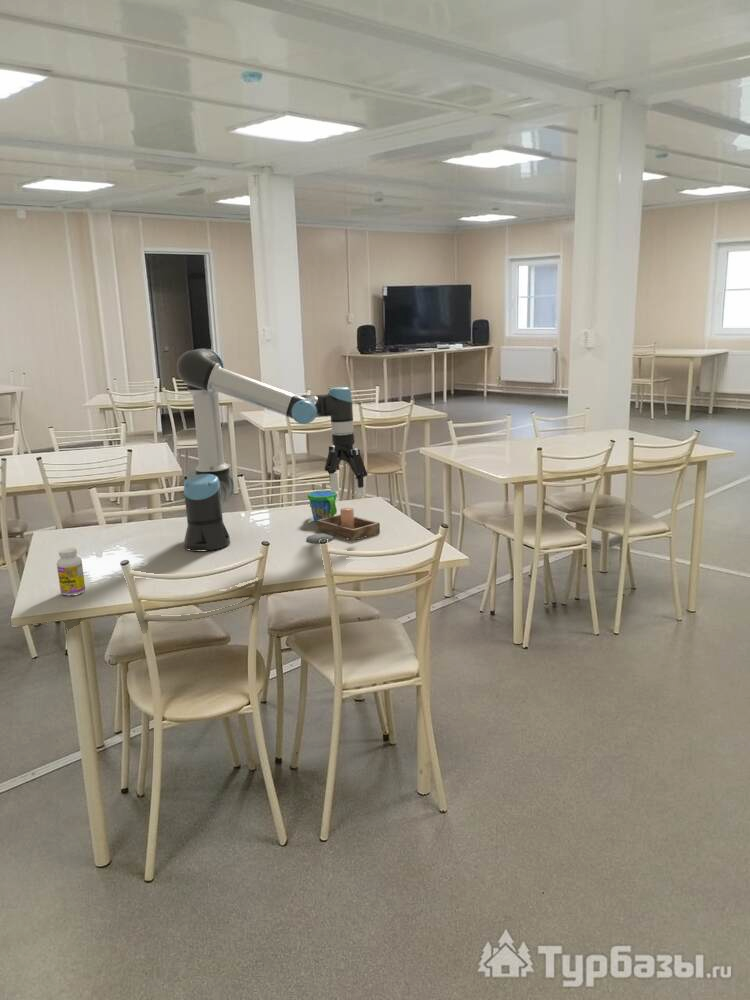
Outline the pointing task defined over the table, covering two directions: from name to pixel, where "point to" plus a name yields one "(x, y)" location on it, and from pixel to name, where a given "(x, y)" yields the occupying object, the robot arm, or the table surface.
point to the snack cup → (322, 504)
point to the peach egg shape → (347, 517)
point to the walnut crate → (334, 528)
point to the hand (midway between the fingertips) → (347, 494)
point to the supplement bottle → (70, 572)
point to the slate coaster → (319, 537)
